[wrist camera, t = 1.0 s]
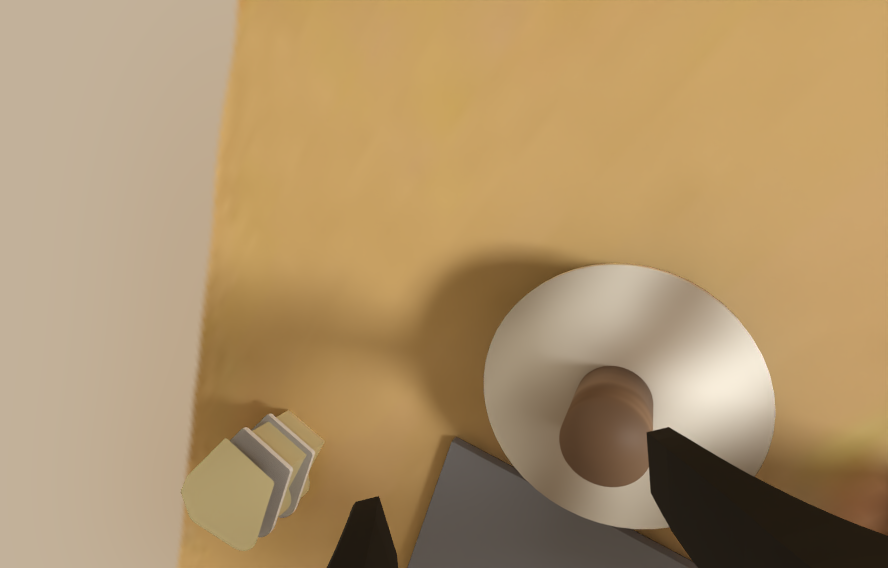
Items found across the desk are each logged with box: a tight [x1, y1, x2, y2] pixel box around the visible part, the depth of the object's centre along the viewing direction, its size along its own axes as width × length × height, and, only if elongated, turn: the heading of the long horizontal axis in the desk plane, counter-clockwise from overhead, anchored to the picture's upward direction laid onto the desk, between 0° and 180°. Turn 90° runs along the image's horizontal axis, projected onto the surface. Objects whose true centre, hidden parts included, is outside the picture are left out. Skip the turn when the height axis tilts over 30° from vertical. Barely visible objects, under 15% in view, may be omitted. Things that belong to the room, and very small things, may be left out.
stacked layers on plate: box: [181, 410, 325, 551], centre depth 31 cm, size 10×9×6 cm
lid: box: [484, 263, 775, 529], centre depth 19 cm, size 11×11×5 cm
